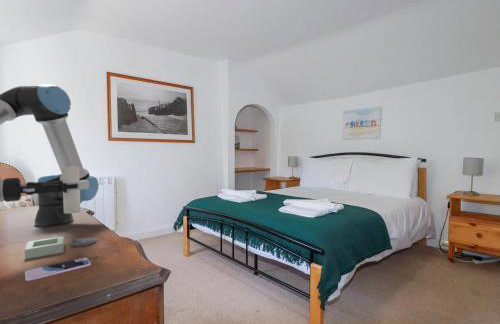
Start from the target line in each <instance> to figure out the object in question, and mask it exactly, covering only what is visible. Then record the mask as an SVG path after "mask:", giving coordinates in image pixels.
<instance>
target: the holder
mask: <svg viewBox="0 0 500 324" xmlns="http://www.w3.org/2000/svg"><path fill="white" fill-rule="evenodd" d="M64 238H65V237H64V236H63V235H62V236H55V237H50V238H44V239H37V240H36V239H35V240H31V241H27V243H26V245H25V248H24V260H28V259H33V258H41V257H45V256H46V257H47V256H51V255H57V254H63V253H64V251H65V250H64V249H65V248H64V247H65V241H64Z"/></svg>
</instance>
